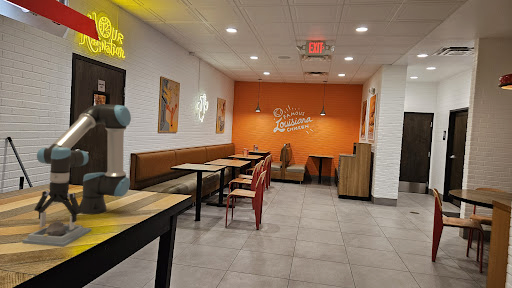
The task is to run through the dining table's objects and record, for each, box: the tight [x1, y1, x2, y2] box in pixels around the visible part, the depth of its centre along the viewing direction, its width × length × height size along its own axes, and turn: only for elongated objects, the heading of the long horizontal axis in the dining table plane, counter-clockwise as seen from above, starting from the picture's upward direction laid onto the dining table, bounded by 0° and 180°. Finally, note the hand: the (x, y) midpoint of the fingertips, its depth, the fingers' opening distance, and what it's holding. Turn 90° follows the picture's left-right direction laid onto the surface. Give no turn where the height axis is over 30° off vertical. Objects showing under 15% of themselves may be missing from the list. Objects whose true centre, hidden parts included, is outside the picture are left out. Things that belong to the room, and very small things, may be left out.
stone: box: [45, 219, 66, 236], centre depth 147 cm, size 8×10×6 cm
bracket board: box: [22, 223, 92, 248], centre depth 149 cm, size 22×18×4 cm
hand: (57, 227), depth 146 cm, fingers open, 13 cm apart
